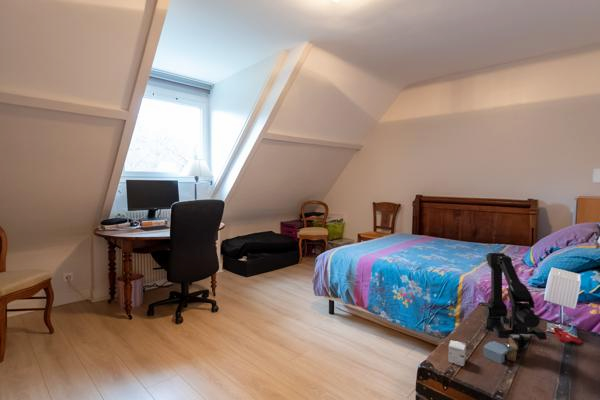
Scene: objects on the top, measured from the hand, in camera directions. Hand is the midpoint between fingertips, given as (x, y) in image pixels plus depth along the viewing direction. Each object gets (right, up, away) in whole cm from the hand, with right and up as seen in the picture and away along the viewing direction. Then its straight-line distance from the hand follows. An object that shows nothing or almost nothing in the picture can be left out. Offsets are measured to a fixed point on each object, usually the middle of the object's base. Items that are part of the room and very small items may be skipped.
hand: (519, 351), depth 136 cm
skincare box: (-29, -3, -3) cm, 29 cm away
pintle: (+3, -1, +8) cm, 9 cm away
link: (-1, -1, +3) cm, 3 cm away
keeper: (-10, -2, -1) cm, 10 cm away
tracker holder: (+32, -1, +13) cm, 35 cm away
